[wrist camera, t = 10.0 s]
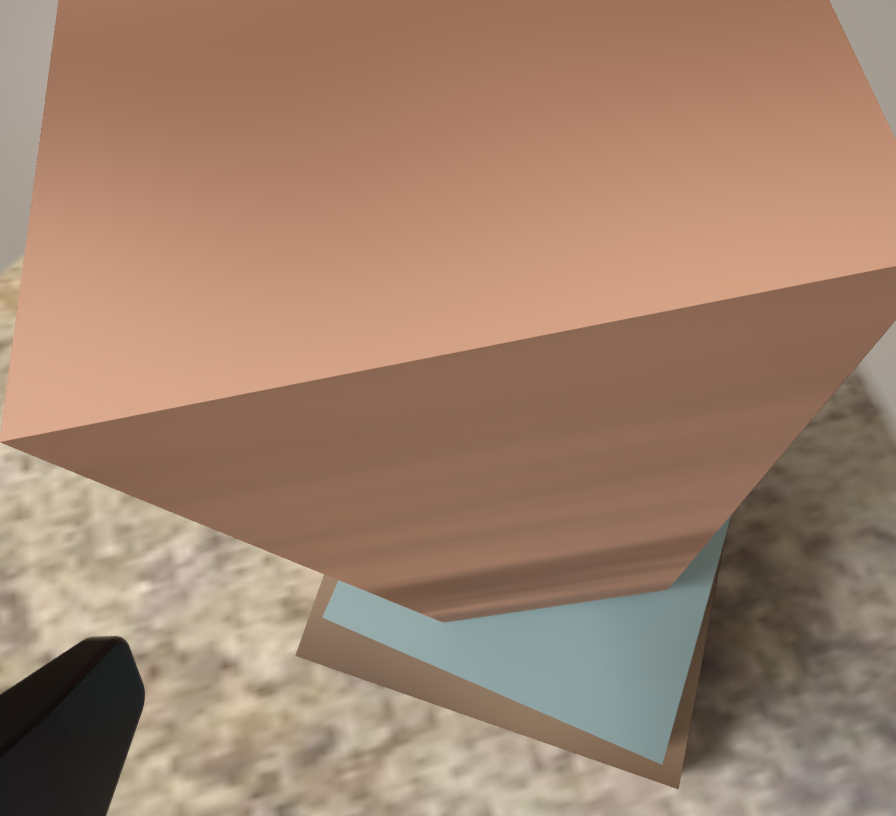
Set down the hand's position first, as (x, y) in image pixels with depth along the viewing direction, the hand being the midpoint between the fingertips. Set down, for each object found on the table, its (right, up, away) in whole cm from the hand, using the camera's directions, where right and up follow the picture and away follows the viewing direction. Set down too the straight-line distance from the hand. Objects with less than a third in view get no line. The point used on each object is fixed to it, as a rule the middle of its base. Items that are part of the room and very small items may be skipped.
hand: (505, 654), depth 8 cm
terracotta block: (+1, +1, +8) cm, 9 cm away
